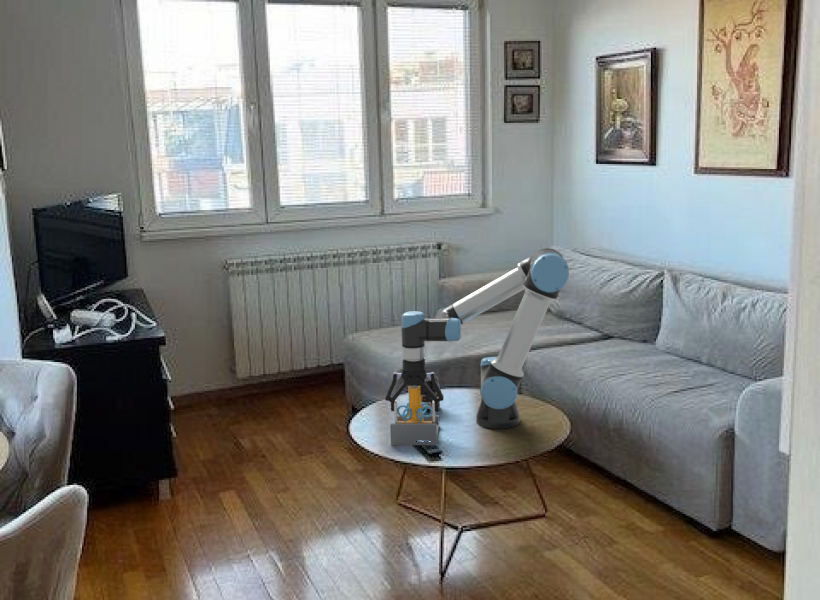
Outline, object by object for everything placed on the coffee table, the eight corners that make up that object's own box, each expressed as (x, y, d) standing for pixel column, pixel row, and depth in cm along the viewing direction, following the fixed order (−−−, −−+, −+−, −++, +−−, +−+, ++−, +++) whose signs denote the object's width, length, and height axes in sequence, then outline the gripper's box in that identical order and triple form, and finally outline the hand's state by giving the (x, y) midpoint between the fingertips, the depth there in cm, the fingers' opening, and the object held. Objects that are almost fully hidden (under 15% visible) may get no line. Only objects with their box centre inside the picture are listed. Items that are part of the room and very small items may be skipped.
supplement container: (410, 413, 306) (409, 381, 303) (413, 404, 316) (412, 373, 314) (438, 413, 304) (438, 382, 302) (441, 404, 315) (441, 373, 312)
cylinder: (394, 434, 279) (393, 391, 277) (399, 424, 289) (398, 382, 287) (431, 435, 278) (430, 391, 275) (434, 425, 288) (434, 383, 285)
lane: (438, 426, 292) (438, 407, 290) (436, 445, 274) (436, 424, 273) (395, 426, 293) (395, 407, 291) (390, 445, 275) (390, 424, 274)
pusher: (432, 438, 280) (431, 421, 278) (432, 439, 278) (431, 422, 277) (397, 438, 280) (396, 421, 279) (397, 439, 279) (396, 422, 278)
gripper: (450, 355, 282) (451, 416, 286) (378, 355, 283) (380, 416, 288) (450, 361, 274) (450, 424, 278) (375, 361, 276) (377, 423, 280)
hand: (414, 420), depth 283 cm, fingers closed on cylinder, 12 cm apart
